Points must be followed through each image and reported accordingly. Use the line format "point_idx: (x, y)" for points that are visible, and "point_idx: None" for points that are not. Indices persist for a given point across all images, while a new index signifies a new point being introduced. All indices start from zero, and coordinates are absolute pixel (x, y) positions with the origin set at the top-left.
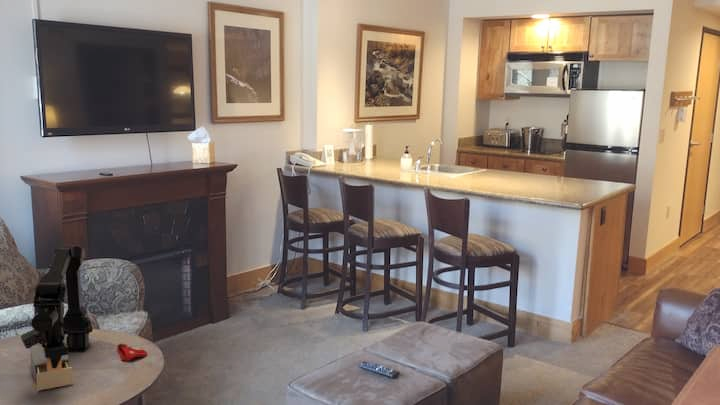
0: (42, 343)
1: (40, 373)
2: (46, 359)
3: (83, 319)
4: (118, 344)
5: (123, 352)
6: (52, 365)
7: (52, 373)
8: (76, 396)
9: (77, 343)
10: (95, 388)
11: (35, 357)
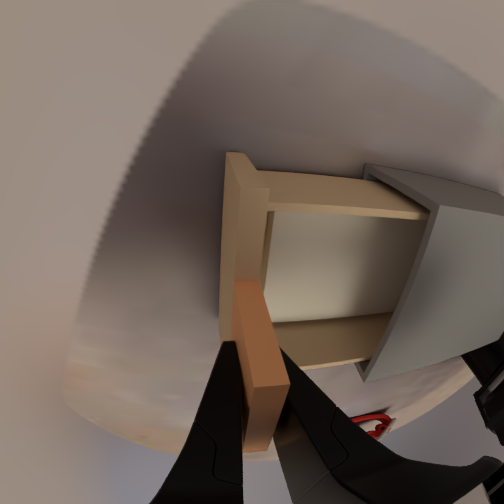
0: (494, 470)
1: (237, 224)
2: (448, 285)
3: (499, 438)
4: (386, 429)
5: (364, 420)
6: (214, 366)
7: (229, 300)
8: (95, 315)
9: (480, 348)
10: (149, 374)
11: (502, 232)
